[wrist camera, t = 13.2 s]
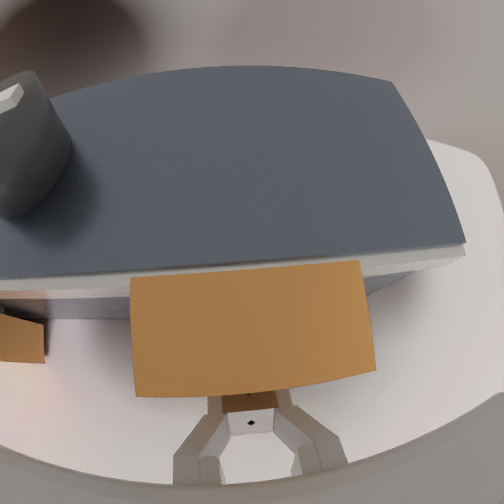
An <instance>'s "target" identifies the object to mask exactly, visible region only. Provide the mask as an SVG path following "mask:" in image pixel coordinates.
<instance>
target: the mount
mask: <svg viewBox="0 0 504 504" xmlns="http://www.w3.org/2000/svg"><path fill="white" fill-rule="evenodd" d="M49 100H50V102H51V103H52V105H53V107H54V109H55V111H56V112H57V114H58V116H59V118H60V120H61V121H62V123H63V125H64V127H65V128H66V130H67V132H68V133H69V136H70V139H71V151H70V155H69V159H68V162H67V164H66V166H65V168H64V171H63V172H62V174H61V176H60V178H59V179H58V181H57V182H56V184H55V185H54V186H53V188H52V189H51V190H50V191H49V192H48V194H47V195H46V196H45V197H44V198H43V199H42V200H41V201H40V202H39V203H38V204H36V205H35V206H34V207H33V208H31V209H30V210H29V211H27V212H25V213H24V214H22V215H19V216H17V217H13V218H3V217H0V307H1V308H4V315H8V316H12V317H27V318H55V319H130V277H144V276H160V275H175V274H190V273H204V272H218V271H232V270H245V269H257V268H270V267H282V266H294V265H306V264H317V263H328V262H339V261H350V260H359V262H360V267H361V272H362V277H363V282H364V287H365V293H366V295H368V294H370V293H372V292H374V291H377V290H379V289H381V288H383V287H385V286H387V285H389V284H391V283H393V282H395V281H397V280H399V279H401V278H403V277H405V276H407V275H408V274H410V273H412V272H414V271H416V270H421V269H428V268H435V267H441V266H446V265H448V264H450V263H452V262H454V261H456V260H458V259H460V258H462V257H463V256H465V255H466V254H465V251H464V247H463V244H464V243H466V240H465V236H464V233H463V230H462V227H461V224H460V221H459V218H458V215H457V212H456V209H455V207H454V204H453V201H452V198H451V196H450V193H449V191H448V188H447V186H446V183H445V181H444V179H443V176H442V174H441V172H440V169H439V167H438V165H437V163H436V160H435V158H434V156H433V154H432V152H431V150H430V148H429V146H428V144H427V142H426V140H425V138H424V136H423V134H422V132H421V130H420V129H419V127H418V125H417V123H416V121H415V119H414V118H413V116H412V114H411V112H410V111H409V109H408V108H407V106H406V104H405V102H404V101H403V99H402V97H401V96H400V94H399V93H398V91H397V89H396V88H395V86H394V85H393V84H392V82H390V81H386V80H381V79H376V78H370V77H365V76H360V75H355V74H348V73H342V72H335V71H326V70H318V69H308V68H295V67H276V66H222V67H205V68H192V69H182V70H174V71H165V72H158V73H151V74H146V75H140V76H134V77H129V78H124V79H119V80H115V81H110V82H106V83H102V84H98V85H94V86H90V87H86V88H83V89H79V90H76V91H72V92H69V93H66V94H63V95H60V96H57V97H54V98H51V99H49Z"/></svg>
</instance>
